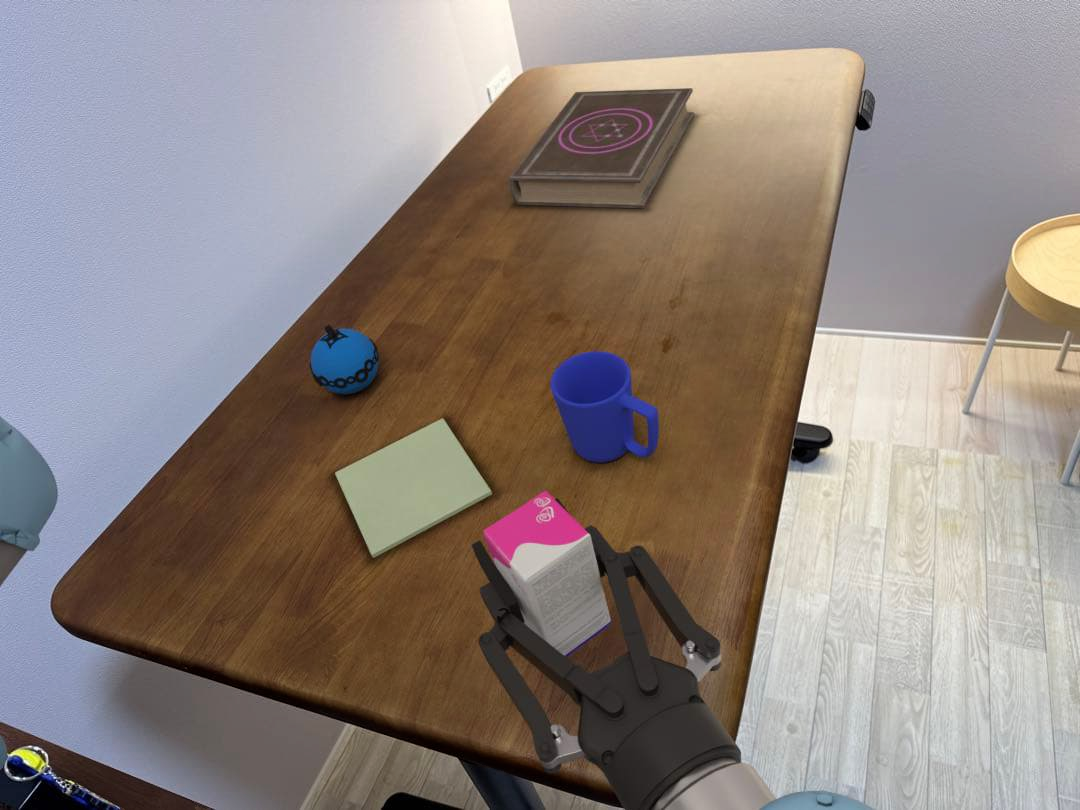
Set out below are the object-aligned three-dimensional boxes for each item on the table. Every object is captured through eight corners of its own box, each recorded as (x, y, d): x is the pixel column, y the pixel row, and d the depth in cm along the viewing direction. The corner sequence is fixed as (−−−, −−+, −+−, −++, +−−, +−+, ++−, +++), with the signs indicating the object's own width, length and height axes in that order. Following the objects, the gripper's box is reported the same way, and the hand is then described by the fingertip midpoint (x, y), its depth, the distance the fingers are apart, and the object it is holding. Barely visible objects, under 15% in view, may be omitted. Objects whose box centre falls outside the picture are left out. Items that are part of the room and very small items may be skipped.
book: (643, 208, 119) (640, 179, 115) (513, 204, 128) (506, 177, 124) (694, 115, 137) (692, 87, 134) (577, 117, 146) (572, 91, 143)
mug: (639, 499, 79) (627, 432, 72) (552, 452, 86) (533, 387, 79) (685, 448, 83) (678, 380, 76) (598, 407, 90) (585, 341, 83)
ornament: (400, 380, 101) (374, 320, 94) (345, 418, 97) (313, 358, 91) (367, 355, 106) (339, 296, 99) (313, 390, 103) (281, 331, 96)
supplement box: (615, 623, 60) (593, 535, 52) (553, 669, 59) (521, 585, 51) (571, 575, 64) (545, 486, 56) (512, 617, 62) (476, 532, 55)
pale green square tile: (373, 558, 81) (371, 555, 80) (336, 475, 90) (334, 472, 90) (492, 494, 84) (491, 490, 83) (444, 421, 93) (442, 417, 93)
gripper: (562, 912, 45) (422, 618, 61) (822, 735, 49) (627, 503, 66) (537, 874, 40) (391, 563, 56) (829, 680, 44) (616, 443, 60)
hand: (518, 531), depth 61 cm, fingers closed on supplement box, 6 cm apart
